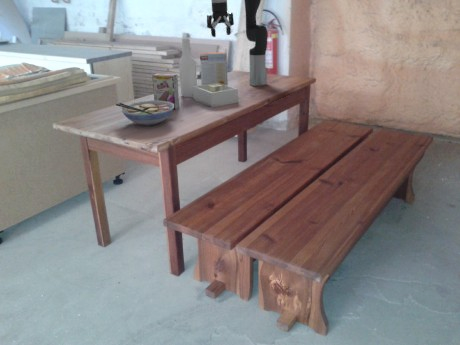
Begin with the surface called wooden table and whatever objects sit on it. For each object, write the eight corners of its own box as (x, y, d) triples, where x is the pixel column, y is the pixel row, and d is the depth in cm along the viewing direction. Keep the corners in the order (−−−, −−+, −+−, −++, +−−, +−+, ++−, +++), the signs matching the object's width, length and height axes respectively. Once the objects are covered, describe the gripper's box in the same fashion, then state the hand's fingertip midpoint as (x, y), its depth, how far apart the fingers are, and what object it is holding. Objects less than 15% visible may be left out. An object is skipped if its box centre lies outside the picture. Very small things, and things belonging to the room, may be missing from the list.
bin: (218, 95, 242) (217, 82, 240) (237, 102, 228) (237, 88, 225) (193, 99, 235) (192, 86, 232) (212, 107, 220) (211, 92, 218)
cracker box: (228, 90, 254) (227, 51, 245) (226, 92, 248) (225, 53, 240) (203, 90, 255) (201, 52, 247) (201, 92, 250) (199, 53, 241)
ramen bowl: (188, 122, 197) (186, 104, 194) (144, 135, 182) (142, 115, 179) (154, 112, 214) (152, 95, 210) (111, 123, 199) (108, 105, 196)
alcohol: (182, 93, 248) (178, 37, 237) (198, 93, 247) (195, 36, 236) (179, 97, 240) (175, 39, 228) (196, 97, 239) (192, 38, 228)
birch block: (217, 97, 234) (216, 84, 231) (222, 99, 230) (221, 85, 228) (208, 98, 232) (208, 85, 229) (213, 100, 228) (213, 87, 225)
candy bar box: (154, 109, 220) (151, 75, 213) (159, 106, 224) (156, 73, 218) (175, 110, 216) (173, 76, 210) (179, 108, 221) (177, 74, 214)
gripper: (227, -1, 227) (228, 33, 234) (202, 2, 220) (205, 36, 227) (235, 0, 221) (237, 34, 228) (210, 2, 214) (213, 38, 221)
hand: (221, 35), depth 227 cm, fingers open, 8 cm apart
